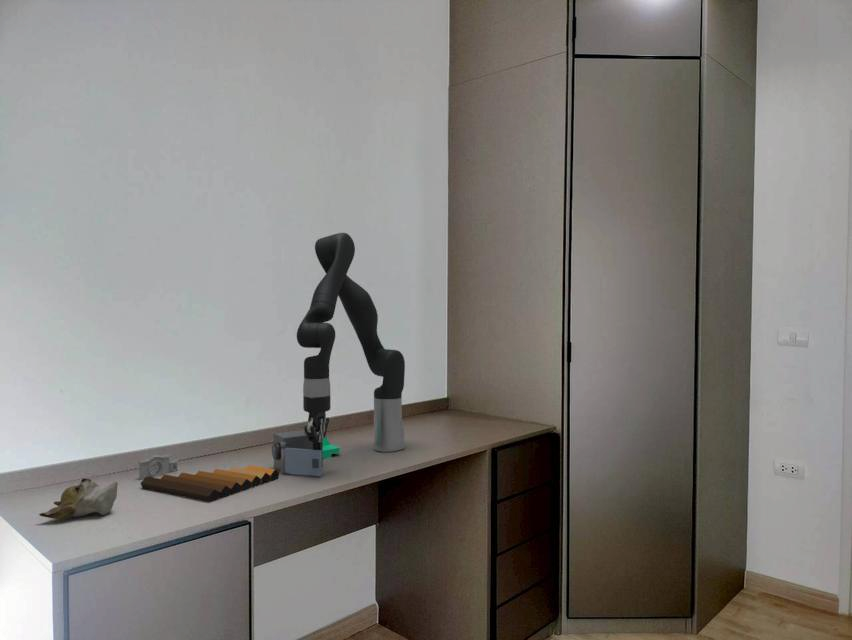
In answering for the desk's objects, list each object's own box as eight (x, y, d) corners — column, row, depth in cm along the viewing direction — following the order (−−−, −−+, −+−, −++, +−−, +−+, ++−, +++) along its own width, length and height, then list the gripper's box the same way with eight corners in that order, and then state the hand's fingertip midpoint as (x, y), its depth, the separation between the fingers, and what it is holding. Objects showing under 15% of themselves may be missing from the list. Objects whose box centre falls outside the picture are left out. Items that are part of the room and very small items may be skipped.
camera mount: (308, 461, 195) (308, 428, 195) (295, 457, 201) (295, 425, 201) (341, 455, 203) (341, 423, 203) (328, 451, 209) (328, 420, 208)
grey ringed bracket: (175, 470, 185) (174, 449, 185) (179, 470, 184) (178, 450, 184) (137, 479, 175) (137, 458, 175) (141, 480, 174) (141, 459, 174)
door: (322, 475, 177) (322, 450, 176) (319, 476, 175) (319, 451, 175) (282, 471, 181) (282, 447, 180) (279, 473, 179) (279, 448, 179)
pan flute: (140, 490, 166) (209, 504, 154) (140, 477, 165) (208, 491, 153) (214, 469, 187) (279, 480, 175) (214, 458, 187) (279, 468, 175)
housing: (311, 461, 194) (311, 426, 194) (325, 468, 186) (324, 431, 186) (269, 467, 187) (269, 431, 187) (281, 475, 179) (281, 436, 179)
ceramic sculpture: (111, 480, 141) (36, 489, 137) (113, 519, 141) (39, 528, 138) (122, 469, 151) (52, 477, 148) (125, 505, 151) (55, 513, 148)
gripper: (313, 389, 185) (314, 448, 186) (294, 397, 172) (295, 460, 173) (337, 390, 184) (338, 449, 184) (320, 398, 171) (321, 461, 171)
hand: (317, 454), depth 179 cm, fingers closed
